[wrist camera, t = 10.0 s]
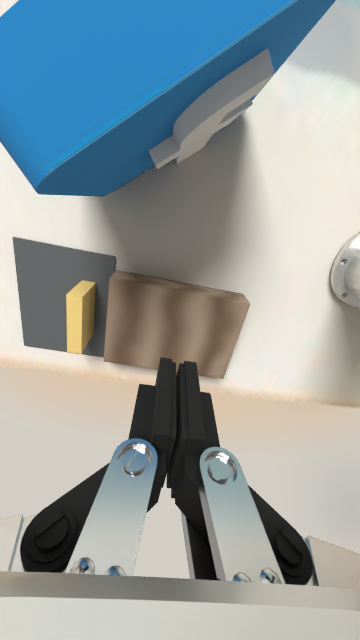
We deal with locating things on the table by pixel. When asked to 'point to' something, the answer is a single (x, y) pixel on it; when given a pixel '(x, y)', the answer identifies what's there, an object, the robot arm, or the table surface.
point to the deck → (171, 323)
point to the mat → (59, 292)
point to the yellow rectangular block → (80, 316)
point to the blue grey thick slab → (133, 81)
